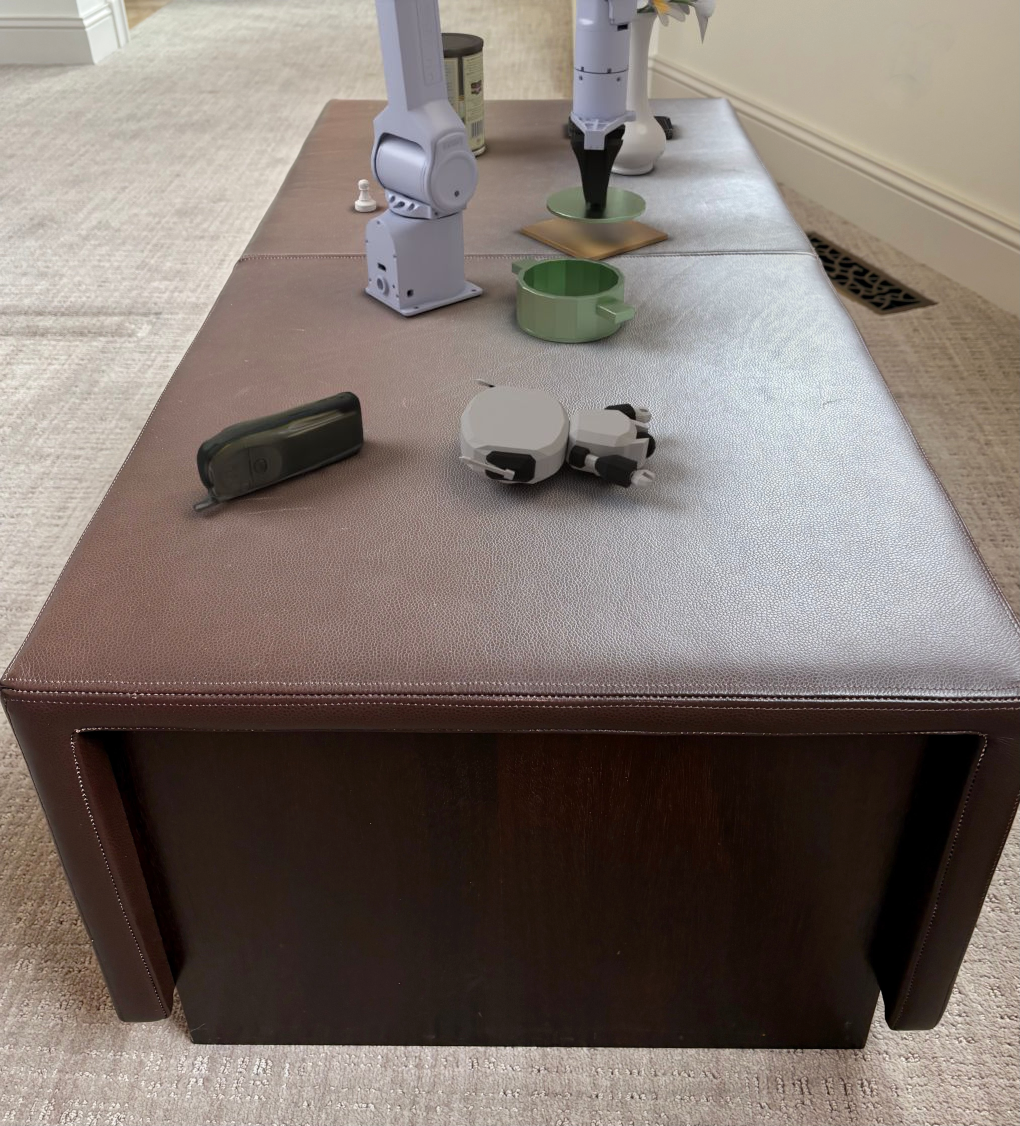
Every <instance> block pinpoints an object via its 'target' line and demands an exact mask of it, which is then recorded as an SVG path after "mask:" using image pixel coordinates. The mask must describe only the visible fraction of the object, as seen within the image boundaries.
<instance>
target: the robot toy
mask: <svg viewBox="0 0 1020 1126" xmlns="http://www.w3.org/2000/svg"><path fill="white" fill-rule="evenodd" d="M474 381H475V382H476V384H477V385H479V386H482V387H487V389H483V390H482V391H480V392H479V393H478V394H476V395H475V396H474V397H473V398H471V399H470V401H469V402H468V403H467V405H466V407H465V408H464V410H463V412H462V414H461V416H460V427H459V428H460V429H459V443H460V452H461V456H458V457H457V458H458V460H459V461H460V462H461V463H463V464H466V465H467V466H468V467H469V469H470V470H472V471H473V472H474V473H476V474H477V475H479V477H481V478H483V479H485V480H493V481H497V482H500V483H502V484H517V483H523V484H535V483H537V482H540V481H543V480H545V479H547V478H549V477H551V476H553V475H554V474H555V473H557V472H558V471H559V470H560V469H561V467H562V466H563V464H564V462H565V460H566V462H567V463H568V465H569V466H570V467H571V468H572V469H574V470H578V471H583V472H587V473H593V474H594V475H595V476H596V477H601V478H602V479H603V480H604V481H605V482H607V483H610V484H613V485H616V486H618V487H621V488H623V489H628V488H630V486H632V485H634V486H635V488H638V489H644V490H647V489H649V488H651V487H652V485H653V484H655V482H656V475H655V473H654V472H652V471H650V470H648V469H641V468H643V466H644V465H645V464H646V459H648V458H650V457H651V456H653V454H654V453H655V451H656V448H657V445H656V443H657V442H656V440H655V438H654V436H653V435H651V434H650V433H649V426H647V425H646V424H647V423H649V422H650V421H651V420H652V416H653V415H652V413H651V412H649V409H647V408H646V407H644V406H634V407H633V406H632V404H630V403H619V404H612V405H607V406H606V407H605V408H603V409H599V408H598V409H597V408H596V409H595V408H592V409H591V408H590V409H589V408H588V409H585V408H584V409H578V410H577V411H575V412H574V413H571V415H570V417H569V414H568V411H567V410H566V407H565V406H564V405H563V403H562V402H561V401H560V400H559V399H558V398H557V397H555V396H554V395H553V394H551V393H549V392H547V391H546V390H544V389H539V388H529V387H521V386H508V385H499V384H494V383H491V382H488V381H487V380H486V379H483V378H477V379H474Z"/></svg>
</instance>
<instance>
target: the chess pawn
mask: <svg viewBox="0 0 1020 1126" xmlns="http://www.w3.org/2000/svg"><path fill="white" fill-rule="evenodd" d="M357 184H358V190H360V194H359V197H358V200H355V201H354V209H355V211H357V212H360V213H370V212H373V211H375V210H376V209H377V202H376V200H374V199H372V196H370V193H369V190H370V182H369V181H368V180H367V179H361V180H359V181H358V183H357Z"/></svg>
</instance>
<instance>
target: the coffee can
mask: <svg viewBox="0 0 1020 1126" xmlns="http://www.w3.org/2000/svg"><path fill="white" fill-rule="evenodd" d="M441 36H442V46H443V56H444V67H445V77H446V87H447V97H448V101H449V103H450V104H451V106H452V107H453V109H454V110H455V112H456V113H457V114H458V116H459V117H460V119H461V120H462V122H463V123H464V125H465V126H466V128H467V138H468V143H469V147H470V149H471V151H472V153H473V154H474V156H475V157H476V156H480V155H481V154H483V153H484V152H485V150H486V144H485V143H486V141H485V139H486V138H485V136H486V135H485V134H486V133H485V98H484V93H485V92H484V89H485V88H484V81H485V80H484V55H483V54H484V51H483V50H484V45H485V44H484V43H485V40H484V39H483V38H482V37H481V36H479V35H475V34H470V33H462V32H441Z"/></svg>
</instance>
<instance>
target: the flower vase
mask: <svg viewBox="0 0 1020 1126" xmlns="http://www.w3.org/2000/svg"><path fill="white" fill-rule="evenodd" d="M716 6H717V0H638V3H637V14H636V15H635V18H634V20H633V21H631V37H630V54H629V70H628V86H627V104H626V110H634V111H636V112H637V118H636V121H634V122H625V123H623V124H624V125H625V126H626V127H625V133H624V135H623V137H622V139H623V145H622V147H621V149H620V151H619V153H618V155H617V157H616V159H615V161H614V164H613V167H612V170H611V173H614V174H616V175H617V174H618V175H623V176H639V175H643V174H644V175H645V174H647V173H650V172H651V171H652V170H653V166H654V164H653V163H655V162H657V161H658V160H659V159H660V158H661V157H662V155H663V154H664V152H665V151H666V149H667V139H666V136H665V133H664V130H663V129H662V127H661V126H660V124H659V123H658V122H657V121H656V119H655V118H654V116H655V115H654V113H653V111H652V109H651V106H650V102H649V94H648V73H649V72H648V71H649V70H648V69H649V68H648V66H649V52H650V51H649V50H650V42H651V36H652V32H653V27H654V24H655V22H656V19H657V18H658V19H659V21H660V23H661V24H662V26H663V27H668V25H669V22H670V20H669V17H671V18H673V19H675V20H676V21H678V22H680V23H681V22H682V23H685V22H686V19H687V17H686V16H689V15H690V13H691V9H690V7H692V8H694V11H695V16H696V19H697V22H698V26H699V31H700V39H701V44H704V42H705V41H704V40H705V35H706V32H707V28H708V24H709V18H711V17H712V15H713V14H714V12H715V9H716Z"/></svg>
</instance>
